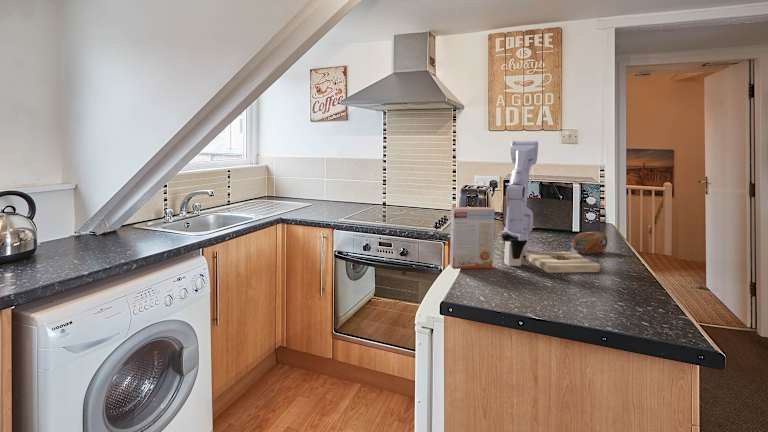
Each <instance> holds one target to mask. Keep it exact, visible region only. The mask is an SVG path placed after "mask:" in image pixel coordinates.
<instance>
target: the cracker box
mask: <svg viewBox="0 0 768 432" xmlns="http://www.w3.org/2000/svg"><path fill="white" fill-rule="evenodd" d="M495 212H496V210H495V208H493V207H490V206H487V207H486V206H481V207H480V206H479V207H478V206H466V207H465V206H460V207H459V206H455V207H454V206H452V207H450V244H449V245H450V246H449V248H450V250H449V266H450V267H451V268H452V269H453V270H455V269H456V270H457V269H458V270H461V269H463V270H464V269H465V270H467V269H469V270H471V269H472V270H473V269H481V270H483V269H487V270H488V269H489V270H490V269H493V265H494V264H493V263H494V241H495V239H494V238H495V236H494V235H495V215H496V214H495Z"/></svg>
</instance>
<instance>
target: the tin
mask: <svg viewBox="0 0 768 432" xmlns="http://www.w3.org/2000/svg"><path fill="white" fill-rule="evenodd" d="M607 245H608V237H607V235H606V234H605V233H604V232H602V231H588V232H579V233H576V234H575V235H574V237H573V238H572V248H573V250H574V251H575V253H578V254H582V255H585V254H597V253H602V252H603V251H604V250H605V249H607Z"/></svg>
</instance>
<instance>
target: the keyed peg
mask: <svg viewBox="0 0 768 432" xmlns="http://www.w3.org/2000/svg"><path fill="white" fill-rule="evenodd" d="M504 249H505V251H504V254H503V257H504V259H503V263H504V264H505V265H506V266H507V267H518V266H519V267H520V266H522V265H523V263H524V256H523V250H524V248H523V250H522V252H521V256H520V258H519V259H513V255H512V246H511V242H510V241H505V245H504Z"/></svg>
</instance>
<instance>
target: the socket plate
mask: <svg viewBox="0 0 768 432" xmlns="http://www.w3.org/2000/svg"><path fill="white" fill-rule="evenodd" d="M525 260H527V261H529V262H530V263H531V264H533V265H535V266H537V267H538V268H540V269H541V270H543V271H545V272H546V273H548V274H549V273H558V274H559V273H599V272H600V269H601V264H599V263H597V262H595V261H593V260H590V259H589V258H586V257H584V256H582V255H580V254H579V253H577V252H573V251H538V252H537V251H536V252H535V251H534V252H533V251H530V252H528V251H527V252H526V256H525Z"/></svg>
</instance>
